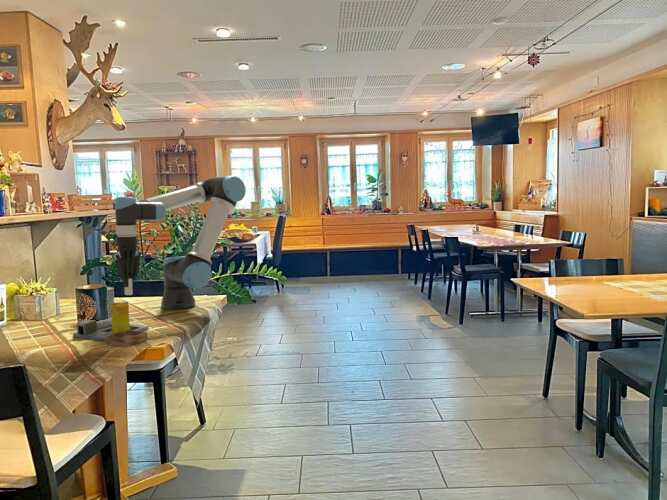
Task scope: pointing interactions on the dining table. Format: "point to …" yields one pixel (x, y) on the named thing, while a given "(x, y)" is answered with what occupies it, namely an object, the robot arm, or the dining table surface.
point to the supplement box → (120, 316)
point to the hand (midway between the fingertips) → (128, 294)
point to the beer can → (110, 299)
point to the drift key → (104, 322)
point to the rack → (126, 338)
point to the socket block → (99, 330)
